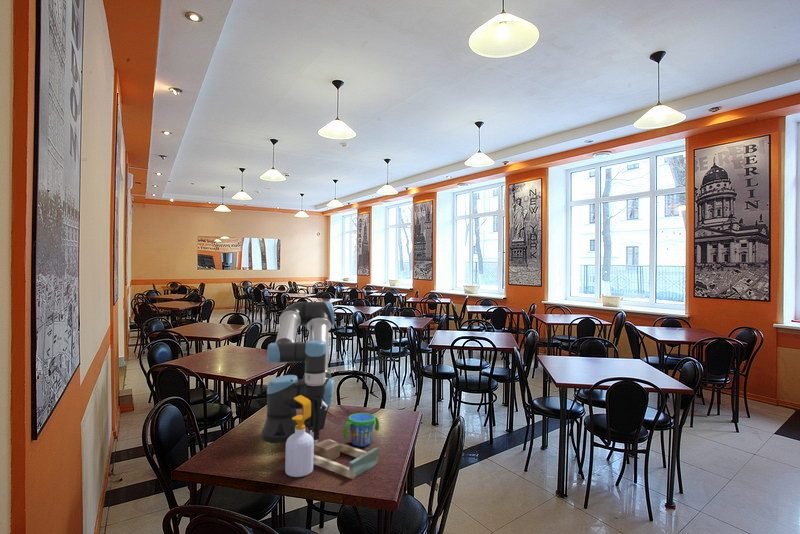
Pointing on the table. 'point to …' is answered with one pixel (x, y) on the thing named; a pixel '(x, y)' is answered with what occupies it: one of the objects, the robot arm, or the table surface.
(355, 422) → the snack cup
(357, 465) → the lane
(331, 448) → the block
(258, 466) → the table surface
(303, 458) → the soap bottle
